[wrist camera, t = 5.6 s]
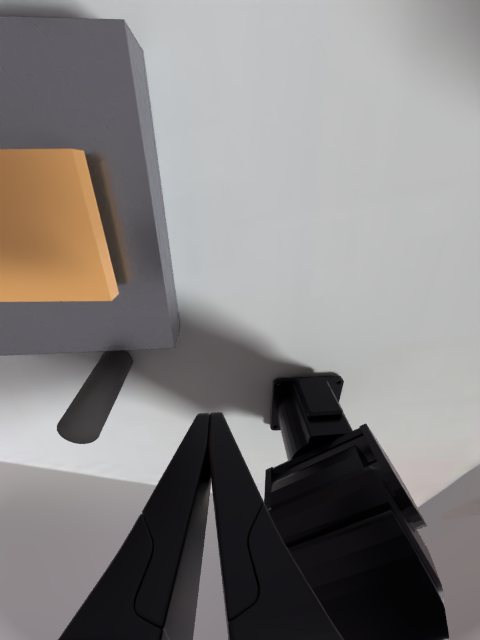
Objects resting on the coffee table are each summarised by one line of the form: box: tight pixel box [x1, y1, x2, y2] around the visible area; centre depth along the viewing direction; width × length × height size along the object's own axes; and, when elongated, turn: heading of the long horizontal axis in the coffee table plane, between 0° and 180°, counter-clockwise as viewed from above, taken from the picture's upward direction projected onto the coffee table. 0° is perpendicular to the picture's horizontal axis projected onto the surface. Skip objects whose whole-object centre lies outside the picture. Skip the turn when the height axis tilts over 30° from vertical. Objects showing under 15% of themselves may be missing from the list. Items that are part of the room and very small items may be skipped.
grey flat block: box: [0, 16, 180, 356], centre depth 15 cm, size 16×12×3 cm
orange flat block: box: [0, 149, 119, 302], centre depth 13 cm, size 7×8×1 cm
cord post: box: [57, 350, 133, 444], centre depth 19 cm, size 2×2×7 cm
